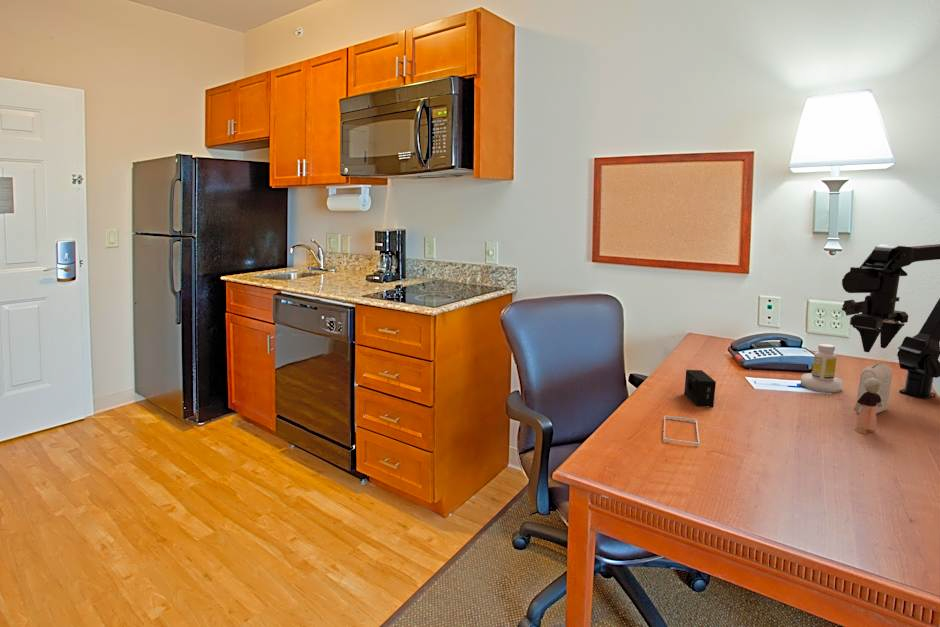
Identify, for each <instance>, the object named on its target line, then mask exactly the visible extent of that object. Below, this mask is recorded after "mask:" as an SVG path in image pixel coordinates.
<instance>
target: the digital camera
mask: <svg viewBox="0 0 940 627" xmlns="http://www.w3.org/2000/svg"><path fill="white" fill-rule="evenodd" d="M684 380H685V381H684V393H683V394H684V395H685V396H686V397H687V398H688V399H689V400H690V402H691V403H693V404H694V406H695V407H697V406H709V407H708V408H714V405H715V404H714V403H715V394H716V383H717V382H716V380H714V378H712V377H711V376H710V375H709V374H707V373H706V372H704V370H702V369H686V370H685V378H684Z"/></svg>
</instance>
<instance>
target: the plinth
mask: <svg viewBox="0 0 940 627" xmlns="http://www.w3.org/2000/svg"><path fill="white" fill-rule="evenodd" d="M800 385H801V386H802V387H803V386H804V387H803V388H805V387H806V388H805V389H808V388H810V389H809V390H811V389H813V391H816V390H817V392H821V391H823V393H839V392H842V386H843V379H841V378H839V377H837V376H834V379H833V380H832V381H823V380H818V379H815V378H813V377H812V372H811V373H807V372H806V373H803V374H801V378H800Z"/></svg>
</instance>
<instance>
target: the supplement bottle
mask: <svg viewBox="0 0 940 627" xmlns="http://www.w3.org/2000/svg"><path fill="white" fill-rule="evenodd" d="M817 348H818V349H817V350H818V351H816V352H814V353H813V354H814V355H813V361H812V363H813V364H812V371H811V373H812V377H813V378H815V379H818V380H823V381H832V380H833V379H834V377H835V375H836V374H835V373H836V364H837V353H834V352H835V350H836V349H835V348H836V346H835V344H834V345H833V344H830V343H829V344H828V343H819V344H818V346H817Z"/></svg>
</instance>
